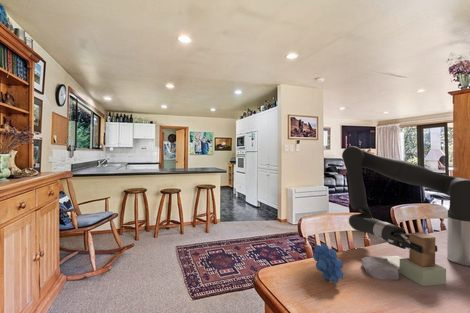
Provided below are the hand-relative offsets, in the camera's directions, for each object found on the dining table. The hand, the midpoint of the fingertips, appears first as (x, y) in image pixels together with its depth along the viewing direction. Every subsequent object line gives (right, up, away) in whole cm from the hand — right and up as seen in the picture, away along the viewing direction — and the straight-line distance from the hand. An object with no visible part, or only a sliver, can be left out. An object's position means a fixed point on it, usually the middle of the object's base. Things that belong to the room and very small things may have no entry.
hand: (429, 249), depth 79 cm
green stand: (0, -11, +3) cm, 11 cm away
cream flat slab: (-2, -11, +13) cm, 17 cm away
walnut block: (0, -6, +3) cm, 7 cm away
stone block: (-13, -11, +7) cm, 19 cm away
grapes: (-35, -11, +1) cm, 36 cm away
